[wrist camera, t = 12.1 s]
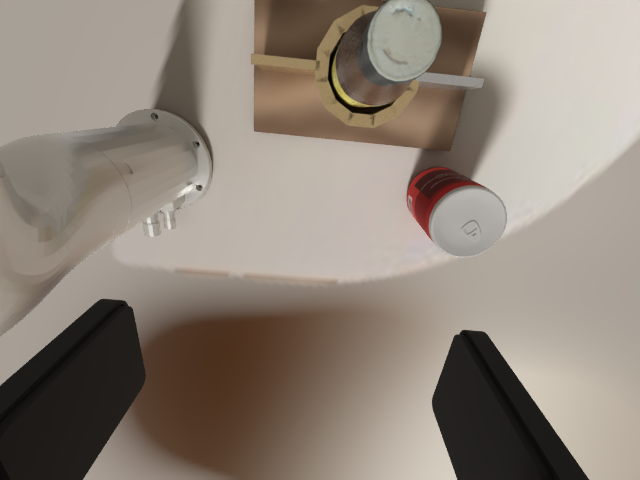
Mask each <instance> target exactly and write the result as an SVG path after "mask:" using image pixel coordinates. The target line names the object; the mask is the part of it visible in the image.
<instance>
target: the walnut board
mask: <svg viewBox="0 0 640 480" xmlns="http://www.w3.org/2000/svg"><path fill="white" fill-rule="evenodd" d="M385 2H386V1H381V0H255V27H254V54H260V55H269V56H279V57H288V58H297V59H307V60H316V58H317V48H318V47H319V45H320V43H321V42H322V40H323V38H324V37H325V35H326V34H327V32H328V30H329V29H330V27H331V25H332V24H333V22H334V21H335V20H336V19H338V18H340V17H341V16H343V15H345V14H347V13H349V12H351V11H352V10H354V9H356V8H358V7H360V6H361V5H367V6H375V7H380V6H381V5H382V4H383V3H385ZM434 7H435V6H434ZM435 9H436V11H437V13H438V15H439V17H440V23H441V27H442V41H441V46H440V48H439V51H438V53H437V56H436V58H435V60H434V62H433V63H432V65H431V66H430V68H429V69H428V70H427V71H426V72H428V73H437V74H447V75H456V76H465V77H470V73H471V69H472V65H473V61H474V58H475V54H476V50H477V46H478V42H479V38H480V35H481V31H482V27H483V23H484V19H485V16H486V12H479V11H470V10H461V9H453V8H444V7H435ZM336 52H337V51H336ZM336 52H335V54H334V55H333V57H332V59H331V60H330V62H329V69H328V81H329V84H330V86H331V89H332V91H333V94H334V96H335V99H336V100H337V101H338V102H339V103H340V104H342V105H343V106H344V107H345V108H347V109H348V110H349V111H350V112H357V113H367V112H369V111H371V110H373V109H375V108H377V107H379V106H374V107H360V108H356V107H352V106H349V105H347V104H345V103H344V102H342V101H341V100H340V99H339V98H338V97H337V95H336V94H335V92H334V89H333V87H332V83H331V67H332V63H333V60H334V58H335V55H336ZM465 92H466V90H447V89H438V88H429V87H419V86H418V90H417V93H416V94H415V96H414V97H413V98H412V99H411V101H410V102H409V103H408V105H407V106H406V107H405V109H404V110H403V111H402V113H401V114H400V115H399V116H398V117H396V118H394V119H392V120H390V121H388V122H386V123H383V124H381V125H379V126H377V127H375V128H367V127H357V126H348V125H346V124H345V123H344V122H342V121H341V120H340V119H338V118H337V117H336V116H335V115H333V114H332V113H331V112H329V111H328V110H327V109H326V108H325V105H324V103H323V100H322V98H321V95H320V93H319V91H318V88H317V86H316V83H315V75H306V74H296V73H287V72H277V71H268V70H262V69H261V68H259V67H257V66H255V65H254V131H256V132H266V133H276V134H286V135H295V136H305V137H315V138H325V139H335V140H345V141H355V142H365V143H375V144H385V145H394V146H404V147H414V148H424V149H434V150H444V151H450V149H451V145H452V141H453V138H454V134H455V130H456V126H457V122H458V118H459V115H460V111H461V107H462V103H463V99H464V96H465Z"/></svg>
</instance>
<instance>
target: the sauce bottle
mask: <svg viewBox="0 0 640 480" xmlns="http://www.w3.org/2000/svg"><path fill="white" fill-rule="evenodd" d="M441 41H442V27H441V23H440V17H439V15H438V13H437V11H436V9H435V7H434V6H433V5H432V4H431V2H430V1H428V0H387V1H386V2H385V3H383V4H382V5H381V6H380V7H379V8H378V9H377V10H376V11H372V12H369V13H367V14H364V15H363V16H361V17H359V18H358V19H356V20H355V22H354V23H353V24H352V25H351V26H350V27H349V29H348V30H347V32H346V33H345V35H344V36H343V38H342V40H341V42H340V44H339V46H338V49H337V52H336V55H335V58H334V60H333V63H332V67H331V83H332V87H333V89H334V92H335V94H336V95H337V97H338V98H339V99H340V100H341V101H342V102H344V103H345V104H347V105H349V106H352V107H356V108H360V107H374V106H381V105H385V104H388V103H391V102H393V101H394V100H396V99H398V98H399V97H400V96H401V95H402V94H403V93H404V92H405V91H406V90H407V89H408V87H409V86H410V84H411V83H412V81H413V80H414V79H416V78H418V77H420V76H421V75H422V74H423V73H425V72H426V71H427V70H428V69H429V68H430V66H431V65H432V63H433V62H434V60H435V58H436V56H437V53H438V51H439V48H440V46H441Z"/></svg>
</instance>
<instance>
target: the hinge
mask: <svg viewBox="0 0 640 480" xmlns="http://www.w3.org/2000/svg"><path fill="white" fill-rule="evenodd" d="M378 8H379V7H375V6H367V5H361V6H360V7H358V8H356V9H354V10H352V11H351V12H349V13H347V14H345V15H343V16H341V17H340V18H338V19H336V20H335V21H334V22H333V24H332V25H331V27H330V29H329V30H328V32H327V34H326V35H325V37H324V38H323V40H322V42H321V43H320V45H319V47H318V48H317V58H316V60H307V59H297V58H288V57H279V56H269V55H260V54H251V64H253V65H255V66H257V67H259V68H261V69H262V70H268V71H277V72H287V73H296V74H306V75H315V83H316V86H317V88H318V91H319V93H320V95H321V98H322V100H323V103H324V105H325V108H326V109H327V110H328V111H329V112H331V113H332V114H333V115H335V116H336V117H337V118H338V119H340V120H341V121H342V122H344V123H345V124H346V125H348V126H357V127H367V128H375V127H377V126H379V125H381V124H383V123H386V122H388V121H390V120H392V119H394V118H396V117H398V116H399V115H400V114H401V113H402V111H403V110H404V109H405V107H406V106H407V105H408V103H409V102H410V101H411V99H412V98H413V97H414V96H415V94H416V93H417V90H418V86H419V87H429V88H438V89H447V90H467V89H477V88H482V86H483V82H484V78H475V77H465V76H456V75H447V74H437V73H428V72H425V73H423V74H422V75H421V76H420V77H418V78H416V79H414V80H413V81H412V83H411V84H410V86H409V87H408V89H407V90H406V91H405V92H404V93H403V94H402V95H401V96H400V97H399V98H398V99H396V100H394V101H393V102H391V103H388V104H385V105H381V106H379V107H377V108H375V109H373V110H371V111H369V112H367V113H357V112H350V111H349V110H348V109H347V108H345V107H344V106H343V105H342V104H340V103H339V102H338V101H337V100H336V99H335V96H334V94H333V91H332V89H331V86H330V84H329V81H328V69H329V62H330V60H331V59H332V57H333V55H334V54H335V52H336V51H337V49H338V46H339V44H340V42H341V40H342V38H343V36H344V35H345V33H346V32H347V30H348V29H349V27H350V26H351V25H352V24H353V23H354V22H355V20H356V19H358V18H359V17H361V16H363V15H364V14H367V13H369V12H372V11H376V10H377V9H378Z"/></svg>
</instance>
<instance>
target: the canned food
mask: <svg viewBox="0 0 640 480" xmlns="http://www.w3.org/2000/svg"><path fill="white" fill-rule="evenodd" d="M407 206H408V208H409V211H410V212H411V214H412V215H413V217H414V218H415V219H416V221H417V222H418V223H419V224H420V226H421V227H422V228H423V230H424V231H425V232H426V234H427V235H428V236H429V238H430V239H431V240H432V241H433V242H434V244H435V245H436V246H437V247H438V248H439V249H441V250H442V251H443V252H445V253H446V254H448V255H451V256H454V257H461V258H467V257H473V256H476V255H479V254H481V253H483V252H485V251H487V250H488V249H490V248H491V247H492V246H494V245H495V243H496V242H497V241H498V240H499V239H500V237H501V236H502V234H503V232H504V230H505V226H506V222H507V213H506V208H505V206H504V204H503V202H502V200H501V199H500V198H499V197H498V196H497V195H496V194H495V193H494V192H492V191H491V190H489V189H487V188H486V187H484V186H482V185H480V184H478V183H476V182H474V181H472V180H470V179H468V178H466V177H464V176H462V175H460V174H458V173H456V172H454V171H452V170H450V169H448V168H443V167H435V168H430V169H428V170H425V171H423V172H421V173H420V174H418V175H417V176H416V177H415V178H414V179H413V181H412V182H411V184H410V186H409V188H408V192H407Z"/></svg>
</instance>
